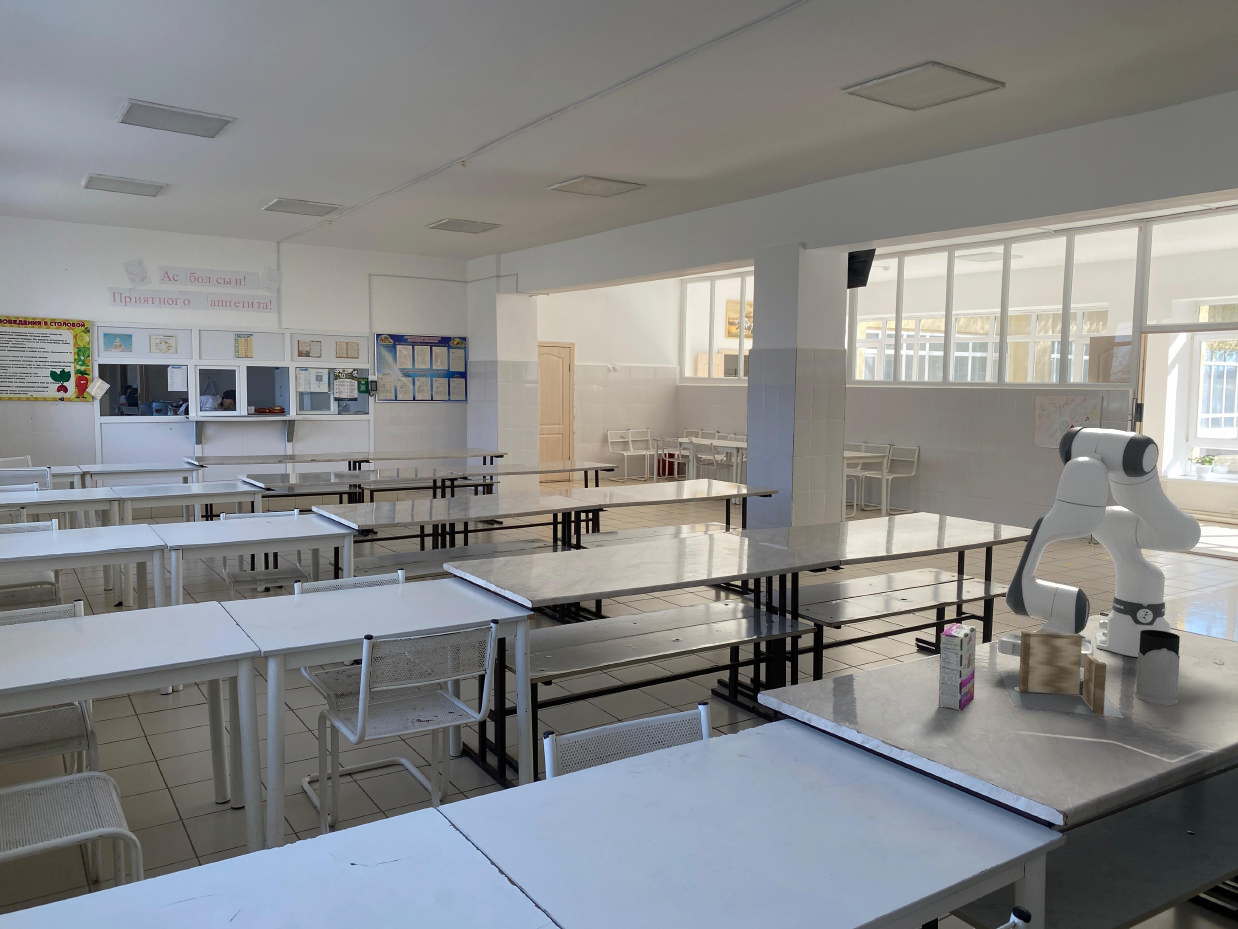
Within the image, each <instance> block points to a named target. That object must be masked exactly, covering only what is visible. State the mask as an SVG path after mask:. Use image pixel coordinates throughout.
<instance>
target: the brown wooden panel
mask: <svg viewBox="0 0 1238 929" xmlns="http://www.w3.org/2000/svg"><path fill="white" fill-rule="evenodd" d="M1020 633H1021V634H1020V635H1021V650H1020V657H1019V673H1018V674H1019V690H1020V691H1021V692H1040V693H1059V694H1078V695H1079V685H1080V680H1081V667H1080V666H1081V647H1082V636H1083V635H1082V634H1081V633H1079V634H1072V633H1049V632H1036V631H1027V630H1026V631H1023V630H1022V631H1020Z"/></svg>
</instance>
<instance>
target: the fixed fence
mask: <svg viewBox="0 0 1238 929" xmlns="http://www.w3.org/2000/svg"><path fill="white" fill-rule="evenodd" d="M1106 677H1107V664H1106V662H1105V661H1104V662H1103V661H1102V662H1101V661H1100V660H1098V659H1097V658H1096V656H1094V654H1093V655H1092V654H1091V653H1085V659H1084V668H1083V679H1082V680H1083V681H1080V695H1082V696H1083V698H1084V699H1085V700H1086V701H1087V702H1088V704H1089V705H1090V706H1091V707H1092V708H1093V710H1092V711H1093V712H1094V713H1097V714H1104V699H1105V694H1106V682H1107V681H1106Z"/></svg>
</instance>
